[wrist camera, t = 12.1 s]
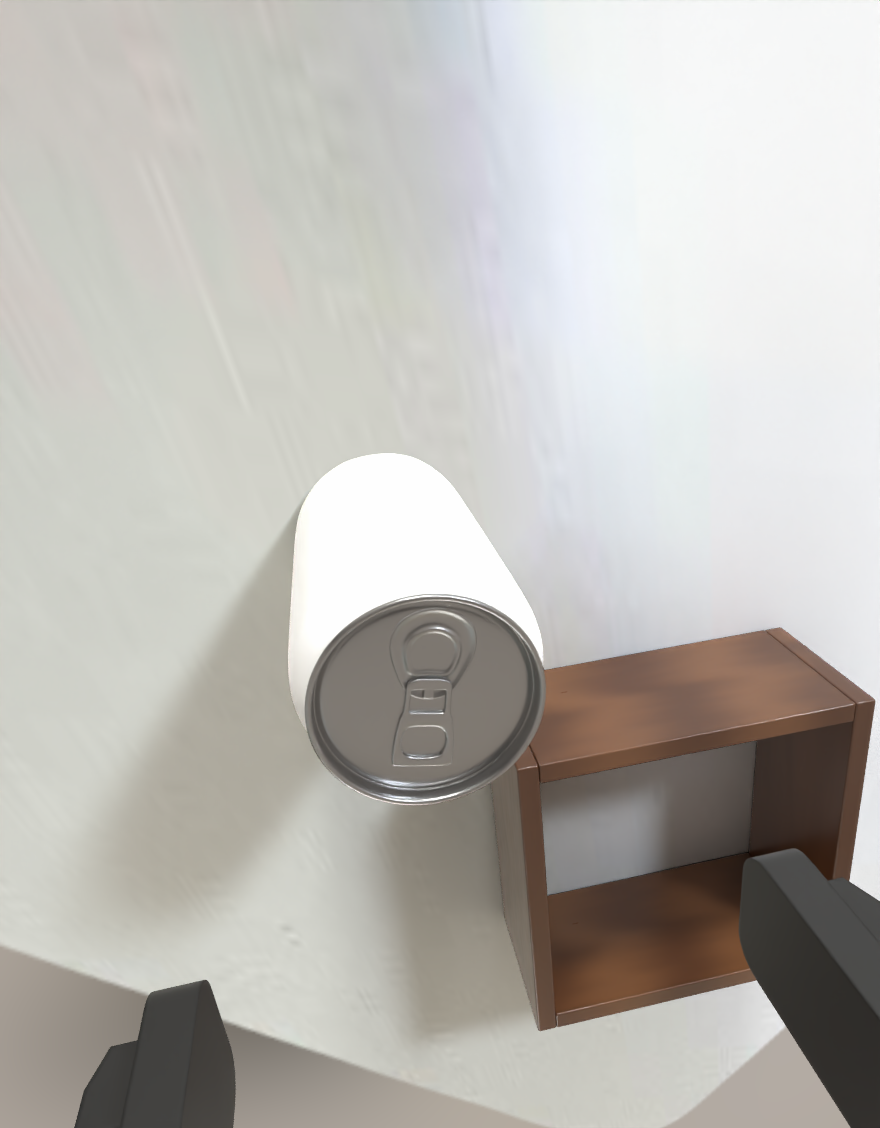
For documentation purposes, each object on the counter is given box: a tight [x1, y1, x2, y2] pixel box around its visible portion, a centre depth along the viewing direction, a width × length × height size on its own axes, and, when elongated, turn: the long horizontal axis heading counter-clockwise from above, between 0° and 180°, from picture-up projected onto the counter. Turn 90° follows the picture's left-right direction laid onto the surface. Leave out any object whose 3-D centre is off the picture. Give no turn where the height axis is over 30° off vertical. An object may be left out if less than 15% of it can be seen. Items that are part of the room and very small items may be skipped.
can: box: [288, 454, 546, 805], centre depth 22 cm, size 6×6×12 cm
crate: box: [491, 628, 875, 1031], centre depth 32 cm, size 14×14×6 cm
